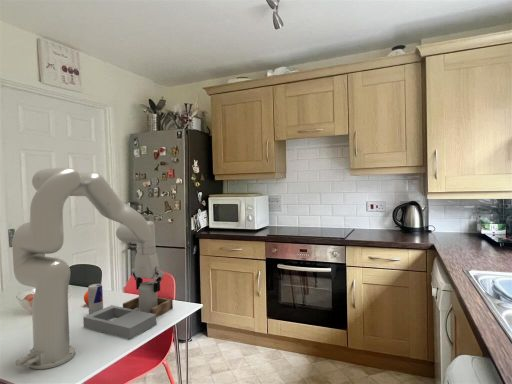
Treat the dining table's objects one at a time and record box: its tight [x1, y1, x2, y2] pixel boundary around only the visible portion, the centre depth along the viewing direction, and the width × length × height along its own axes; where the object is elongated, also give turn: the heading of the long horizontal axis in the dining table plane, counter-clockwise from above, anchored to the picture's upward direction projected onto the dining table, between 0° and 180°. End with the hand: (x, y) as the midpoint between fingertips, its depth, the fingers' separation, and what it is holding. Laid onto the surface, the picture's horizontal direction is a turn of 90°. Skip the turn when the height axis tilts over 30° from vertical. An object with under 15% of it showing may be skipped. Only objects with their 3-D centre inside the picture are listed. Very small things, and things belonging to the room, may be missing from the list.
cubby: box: [122, 296, 174, 318], centre depth 140 cm, size 12×16×4 cm
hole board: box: [82, 305, 158, 340], centre depth 125 cm, size 13×24×4 cm, turn 65°
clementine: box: [83, 290, 89, 306], centre depth 148 cm, size 8×7×7 cm
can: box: [138, 280, 158, 313], centre depth 140 cm, size 8×8×12 cm
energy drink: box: [87, 283, 104, 315], centre depth 137 cm, size 5×5×12 cm
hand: (148, 290), depth 140 cm, fingers open, 9 cm apart
